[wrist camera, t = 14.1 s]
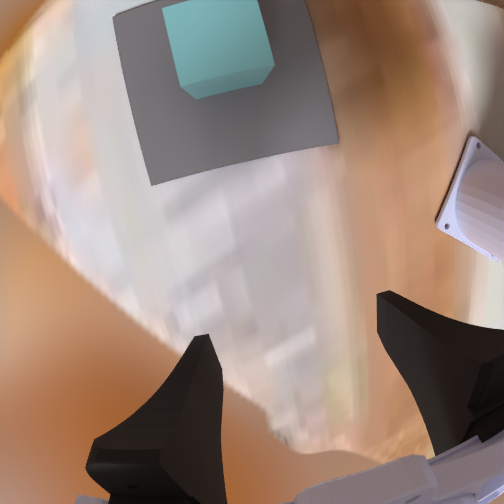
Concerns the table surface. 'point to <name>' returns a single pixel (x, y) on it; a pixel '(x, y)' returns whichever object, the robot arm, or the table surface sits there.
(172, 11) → the teal block
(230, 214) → the table surface
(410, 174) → the table surface
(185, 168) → the charcoal mat
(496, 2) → the walnut box
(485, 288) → the table surface
